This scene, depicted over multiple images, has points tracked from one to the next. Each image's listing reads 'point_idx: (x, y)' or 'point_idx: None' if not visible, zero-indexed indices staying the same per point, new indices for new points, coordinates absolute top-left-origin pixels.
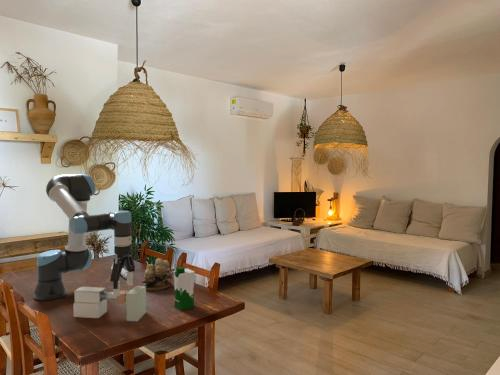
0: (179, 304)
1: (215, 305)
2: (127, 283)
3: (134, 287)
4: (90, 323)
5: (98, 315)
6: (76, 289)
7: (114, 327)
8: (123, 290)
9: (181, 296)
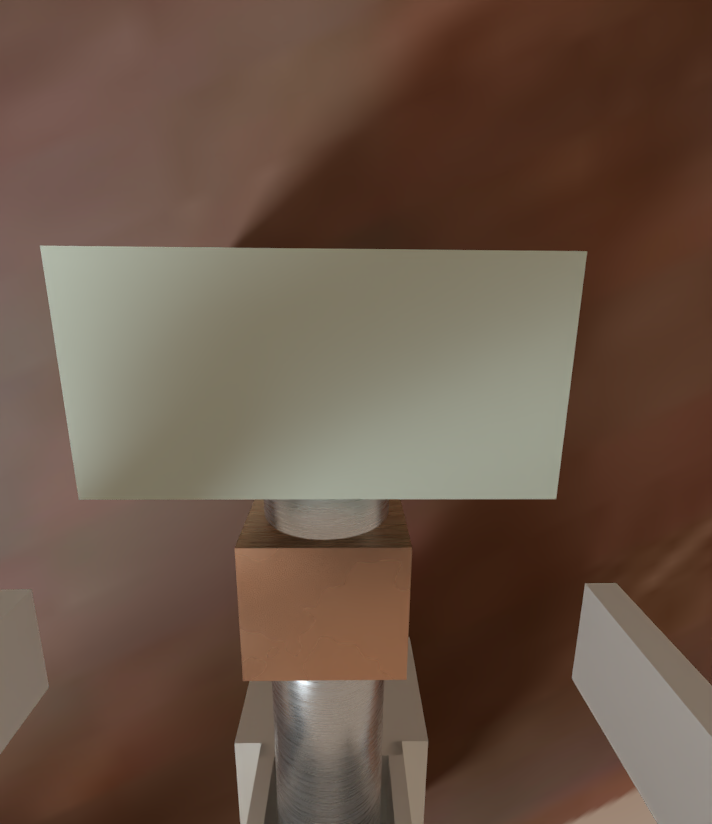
0: None
1: None
2: (23, 705)
3: (176, 484)
4: (513, 645)
5: (410, 654)
6: None
7: (587, 427)
8: (241, 641)
9: None
